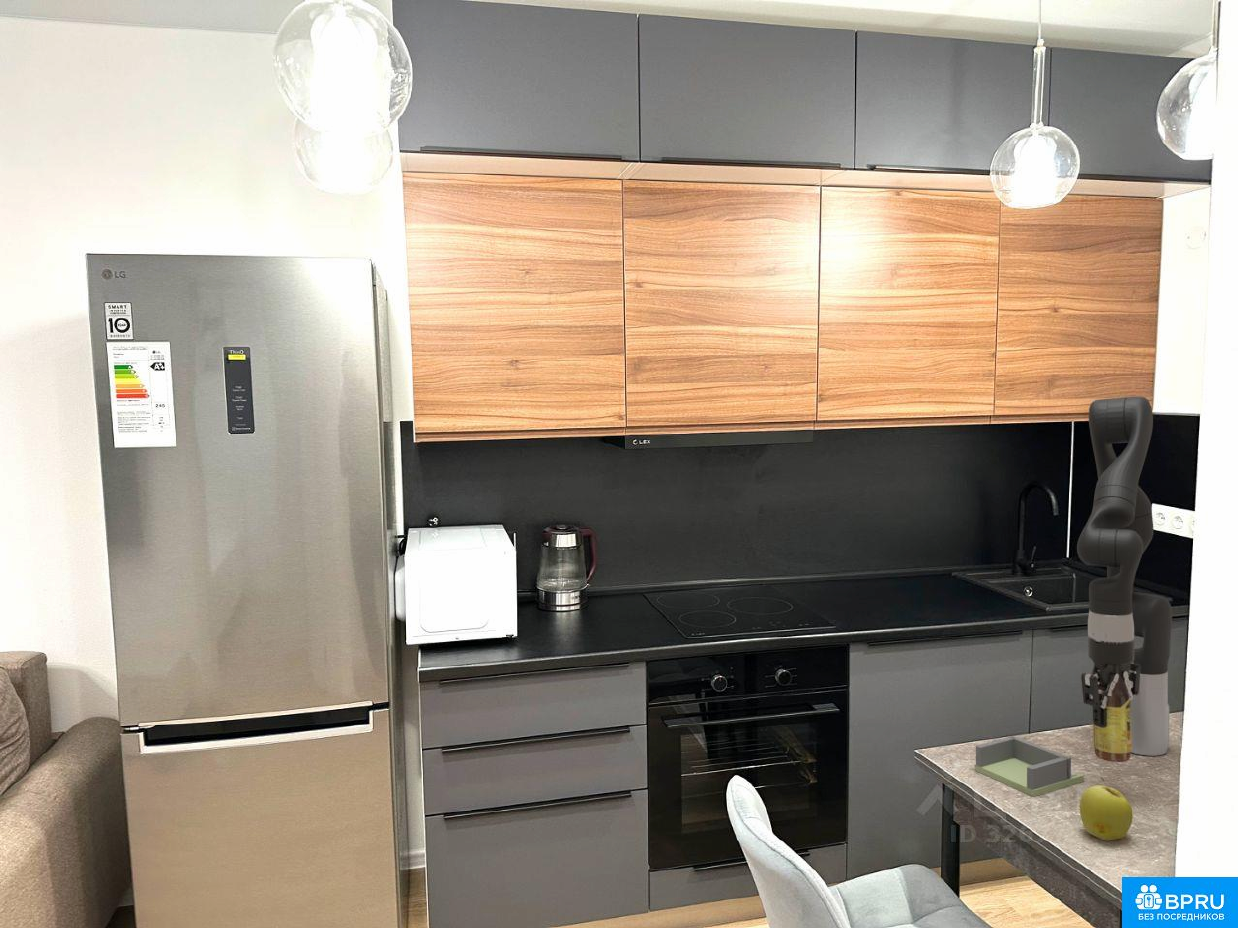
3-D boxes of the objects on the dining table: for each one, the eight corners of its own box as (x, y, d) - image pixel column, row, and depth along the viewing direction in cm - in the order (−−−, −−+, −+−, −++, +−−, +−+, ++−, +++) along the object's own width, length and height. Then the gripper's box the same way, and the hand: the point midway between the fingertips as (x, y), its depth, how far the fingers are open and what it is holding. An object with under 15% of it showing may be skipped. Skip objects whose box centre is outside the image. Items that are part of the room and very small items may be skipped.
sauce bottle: (1136, 764, 162) (1135, 658, 161) (1100, 763, 163) (1098, 658, 162) (1123, 750, 168) (1122, 648, 167) (1088, 749, 170) (1086, 648, 168)
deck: (1023, 756, 185) (1023, 732, 184) (1083, 781, 172) (1083, 755, 172) (974, 770, 179) (974, 745, 178) (1033, 796, 166) (1033, 769, 166)
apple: (1069, 832, 150) (1076, 772, 151) (1085, 830, 155) (1091, 772, 157) (1121, 848, 144) (1127, 785, 146) (1135, 845, 150) (1141, 785, 151)
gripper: (1116, 624, 171) (1117, 708, 172) (1066, 636, 164) (1068, 724, 166) (1154, 632, 164) (1155, 720, 165) (1104, 646, 158) (1105, 737, 159)
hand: (1111, 721), depth 165 cm, fingers closed on sauce bottle, 6 cm apart
